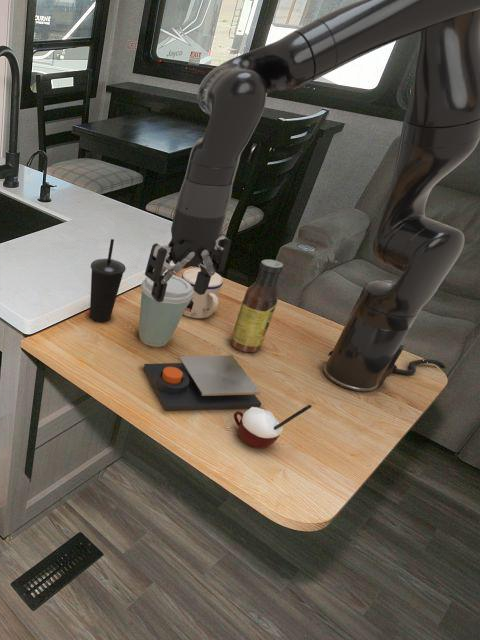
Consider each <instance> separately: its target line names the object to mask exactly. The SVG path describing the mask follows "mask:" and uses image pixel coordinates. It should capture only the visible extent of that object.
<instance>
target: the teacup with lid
mask: <svg viewBox="0 0 480 640" xmlns="http://www.w3.org/2000/svg"><path fill="white" fill-rule="evenodd" d="M200 271H201V270H200V268H199V267H193V268H187V270H185V271H184V272H183V273H182V274H181V278H183V279H184V280H186V281H187V282H188V283H190V285H191V286H192V289H193V292H194V294H193V297H192V298H191V299H190V301H189V303H188V305H187V307H186V309H185V311H184V313H183V315H182V316H185V317H188V318H192V319H206V318H209V317H211V316H212V315H213V314H214V313H215V312H216V311H217V310H218V307H219V299H218V296H219V293H220V290H221V287H222V286H223V285H224V280H223V277H222V275H220V274H219V273H217V272H215V274H214V275H213V276H211V279H210V283H209V286H208V289H207V290H206V292H205V294H203V295H199V294H198V293H196V292H195V291H194V285H195V282H196V278H197V275H198V272H200Z"/></svg>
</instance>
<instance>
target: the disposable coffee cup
mask: <svg viewBox="0 0 480 640" xmlns="http://www.w3.org/2000/svg"><path fill="white" fill-rule="evenodd" d="M164 274H165V273H163V274H162V275H164ZM153 283H154V282H153V281H152V280H151V279H149V278H148V277H147V276H145V278H144V279H143V280H142V281H141V284H140V288H141V289H140V290H141V297H140V309H139V324H138V337H139V340H140V341H141V342H142V343H143V344H145V345H147V346H150V347H156V348H159V347H160V348H161V347H165V346H166V345H168V343H169V342H170V341H171V339H172V337H173V335H174V333H175V331H176V329H177V327H178V325H179V323H180V321H181V320H182V317H183V316H184V315H183V313H184V311H185V309H186V307H187V305H188V303H189V301H190V299H191V298H192V297H193V294H194V292H193V289H192V286H191V285H190V283H188V282H187V281H186V280H184V279H183V278H182V277H180V276H178V275H173V276H172V277H171V278H170V279H169V280H168V282H167V288H166V292H165V296H164V300H163V302H157V301H156V300H155V299H154V298H153V296H152V295H151V292H152V289H153Z"/></svg>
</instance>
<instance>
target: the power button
mask: <svg viewBox="0 0 480 640" xmlns="http://www.w3.org/2000/svg"><path fill="white" fill-rule="evenodd" d="M182 376H183V373H182V371H181V370H179V369H178V368H175V367H166V368H164V370H163V373H162V379H163V380H164V381H166V382H168V383H171V384H178V383H180V382H181V379H182Z"/></svg>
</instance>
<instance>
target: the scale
mask: <svg viewBox="0 0 480 640" xmlns="http://www.w3.org/2000/svg"><path fill="white" fill-rule="evenodd" d="M166 367H175V368H178V369H179V370H181V371H182V373H183V376H182V379H181V382H180V383H178V384H171V383H168V382H166V381H164V380H163V379H162V373H163V370H164V368H166ZM142 370H143V371H144V373H145V375H146V377H147V380H148V381H149V383H150V385H151V387H152V388H153V391H154V393H155V395H156V397H157V399H158V401H159V403H160V405H161V406H162V409H163V410H164V412H190V411H191V412H193V411H224V410H229V411H230V410H249V409H250V408H251V407H258V408H260V407H261V405H262V402H261V401H260V399H259V398H258V397H257V396H256V394H253V395H218V396H201V394H200V392H199V391H198V389H197V388H196V386H195V384H194V383H193V381H192V380H191V378H190V376H189V375H188V373H187V372H186V370H185V368H184V367H183V365H182V364H181V362H167V363H166V362H165V363H144V365H143V369H142Z"/></svg>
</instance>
